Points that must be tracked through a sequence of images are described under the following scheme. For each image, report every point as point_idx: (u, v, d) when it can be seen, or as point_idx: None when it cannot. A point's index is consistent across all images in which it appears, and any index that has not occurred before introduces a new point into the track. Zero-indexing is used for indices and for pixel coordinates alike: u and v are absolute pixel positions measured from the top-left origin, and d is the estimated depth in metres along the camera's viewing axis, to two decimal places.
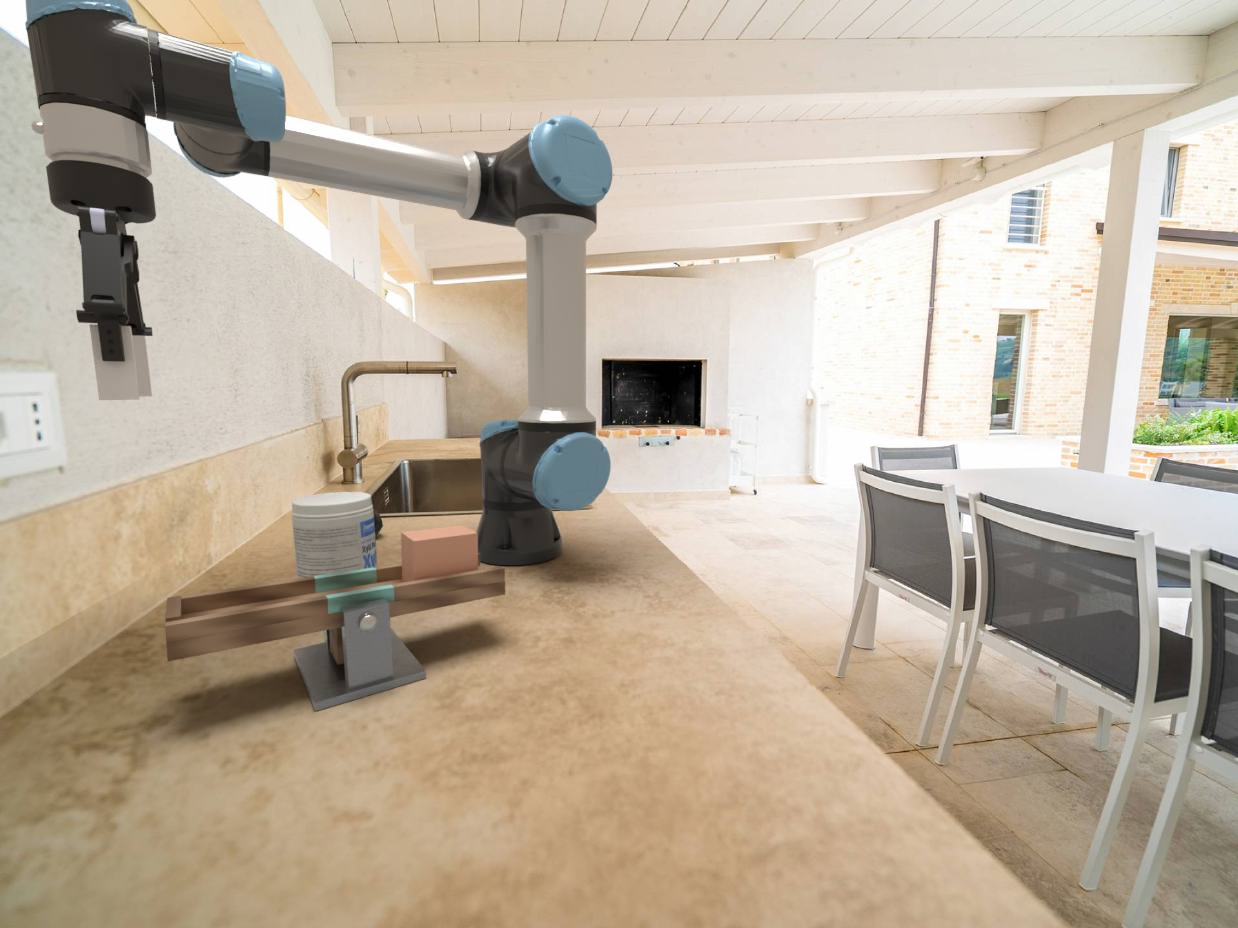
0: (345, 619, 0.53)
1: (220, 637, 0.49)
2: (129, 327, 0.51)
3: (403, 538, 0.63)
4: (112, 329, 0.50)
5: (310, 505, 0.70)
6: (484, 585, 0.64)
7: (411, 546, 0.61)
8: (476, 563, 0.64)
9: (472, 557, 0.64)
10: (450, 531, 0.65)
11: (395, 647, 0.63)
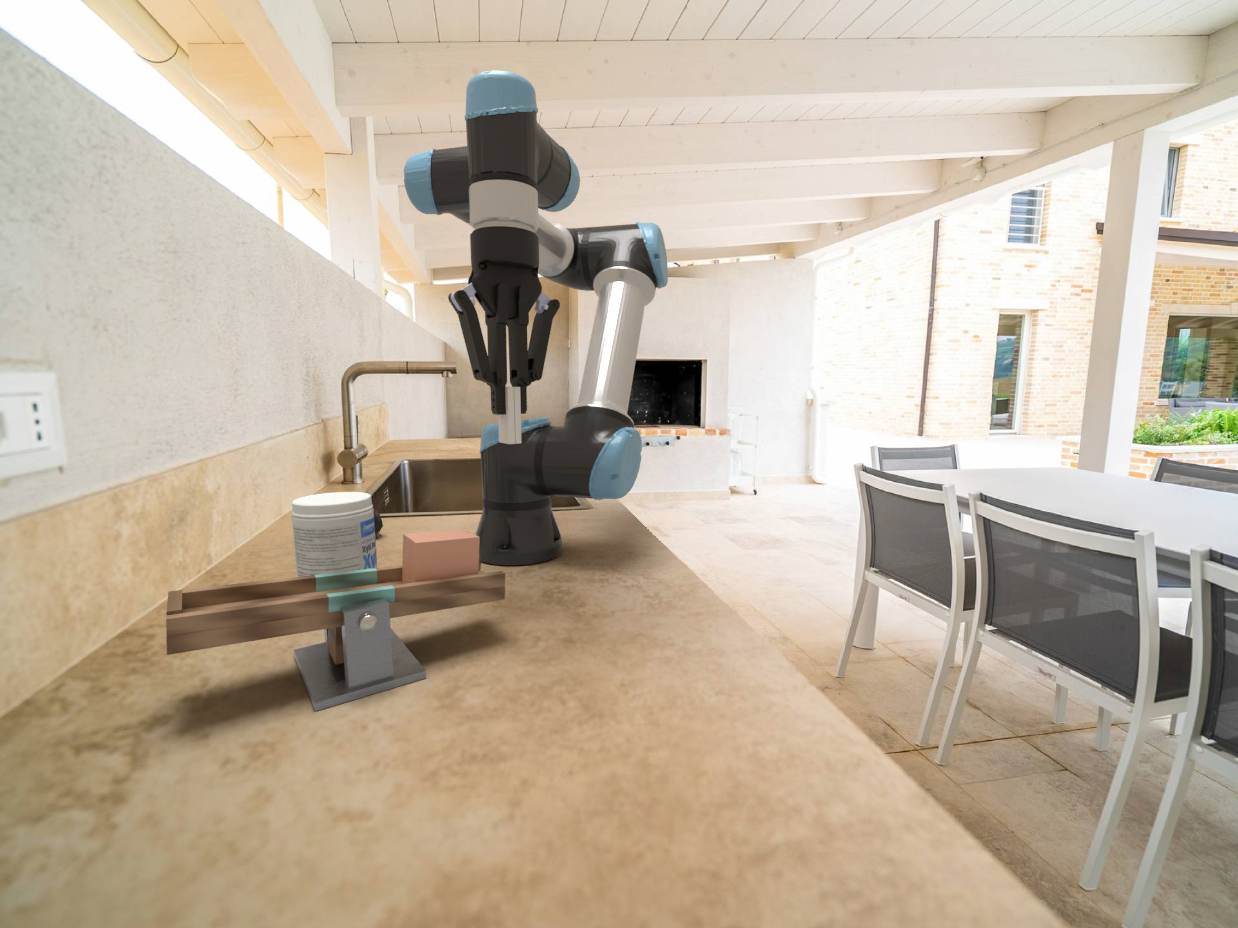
0: (345, 619, 0.53)
1: (220, 632, 0.49)
2: (507, 388, 0.65)
3: (405, 540, 0.63)
4: (494, 390, 0.66)
5: (310, 505, 0.70)
6: (484, 589, 0.64)
7: (413, 547, 0.61)
8: (477, 567, 0.65)
9: (473, 561, 0.64)
10: (452, 534, 0.65)
11: (395, 647, 0.63)
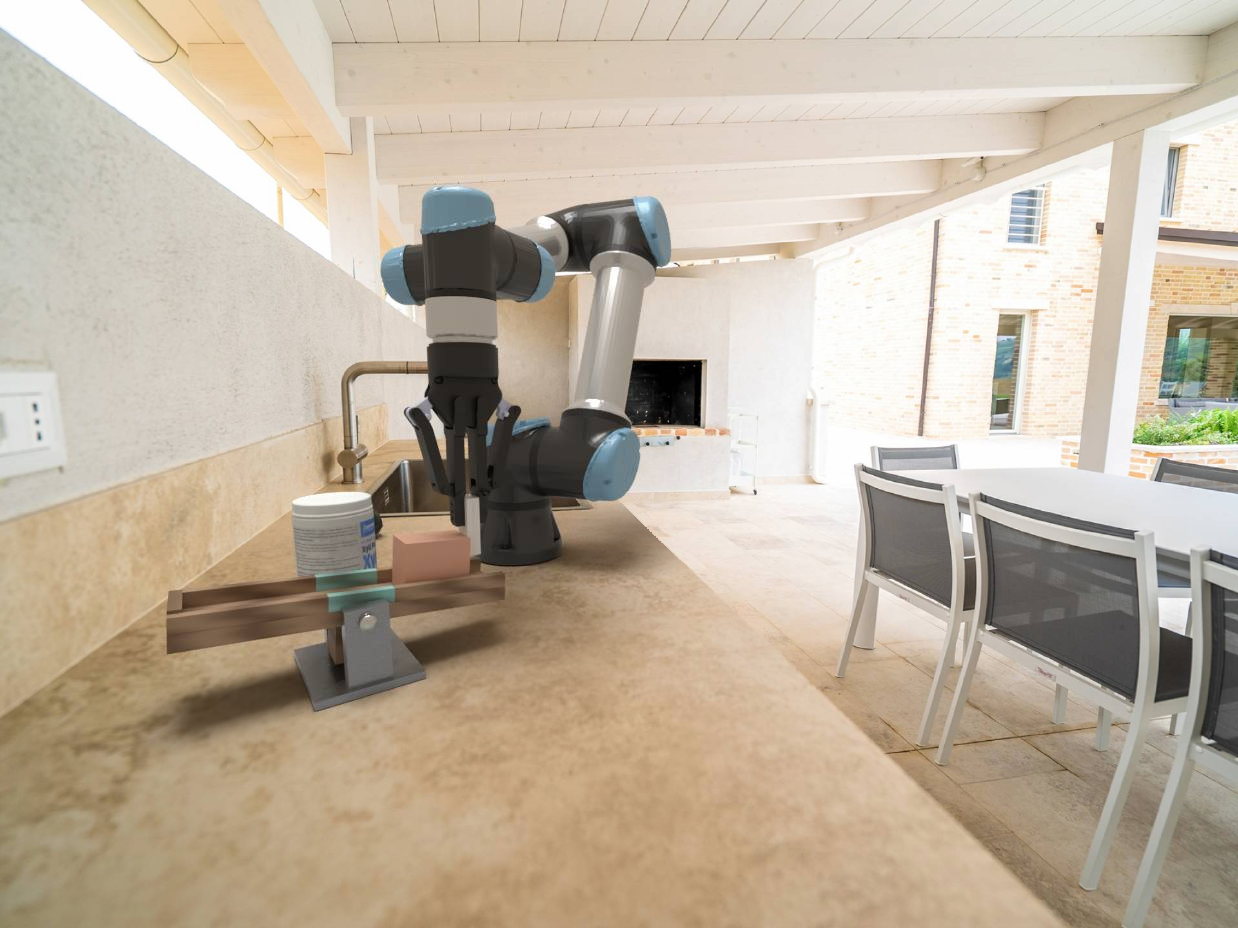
0: (345, 619, 0.53)
1: (220, 632, 0.49)
2: (466, 500, 0.64)
3: (395, 541, 0.62)
4: (452, 502, 0.64)
5: (310, 505, 0.70)
6: (484, 589, 0.64)
7: (403, 548, 0.60)
8: (468, 568, 0.64)
9: (464, 562, 0.64)
10: (443, 535, 0.64)
11: (395, 647, 0.63)
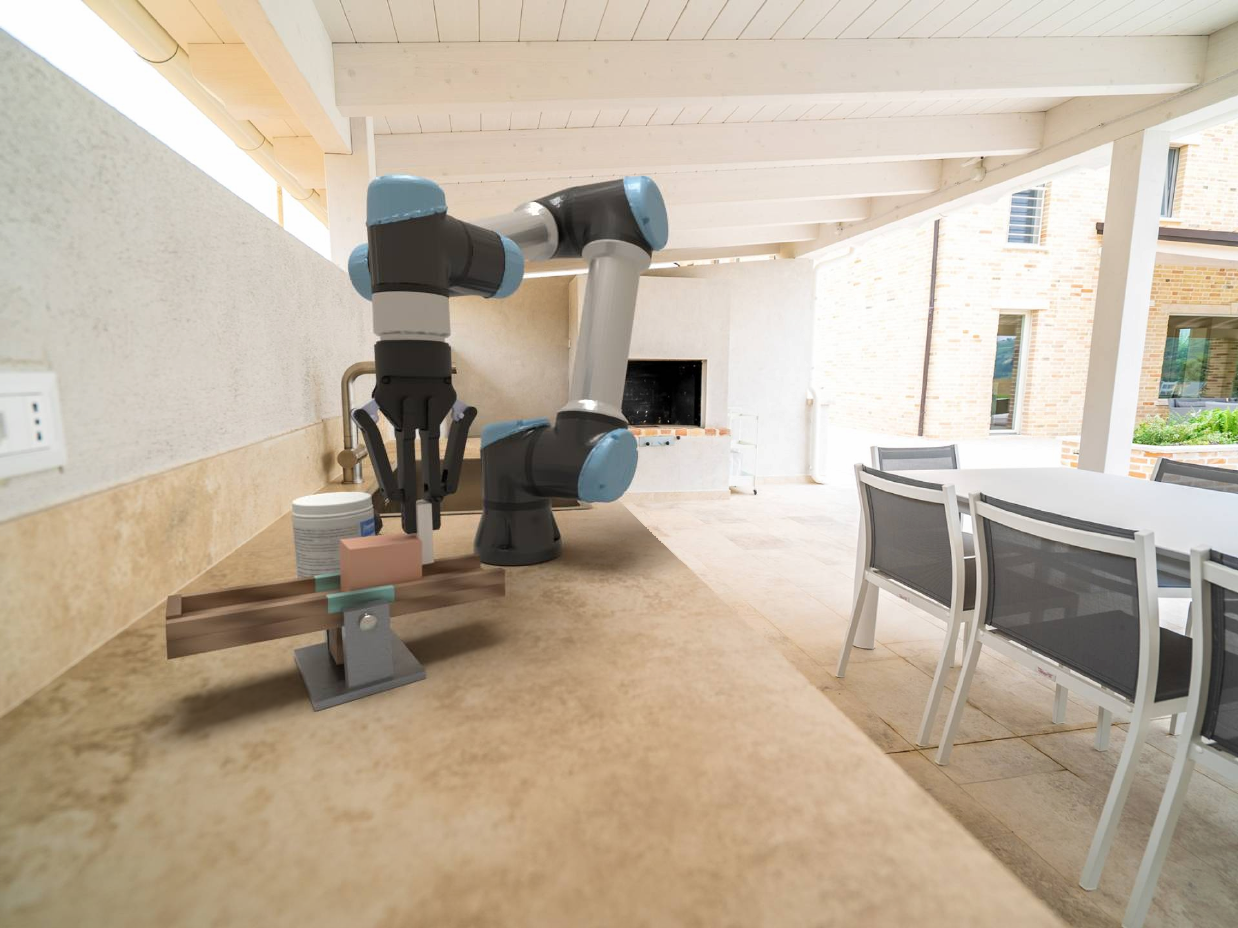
0: (345, 619, 0.53)
1: (220, 635, 0.49)
2: (417, 506, 0.61)
3: (342, 546, 0.59)
4: (403, 508, 0.61)
5: (310, 505, 0.70)
6: (484, 586, 0.64)
7: (348, 554, 0.57)
8: (420, 573, 0.61)
9: (416, 566, 0.60)
10: (393, 538, 0.61)
11: (395, 647, 0.63)
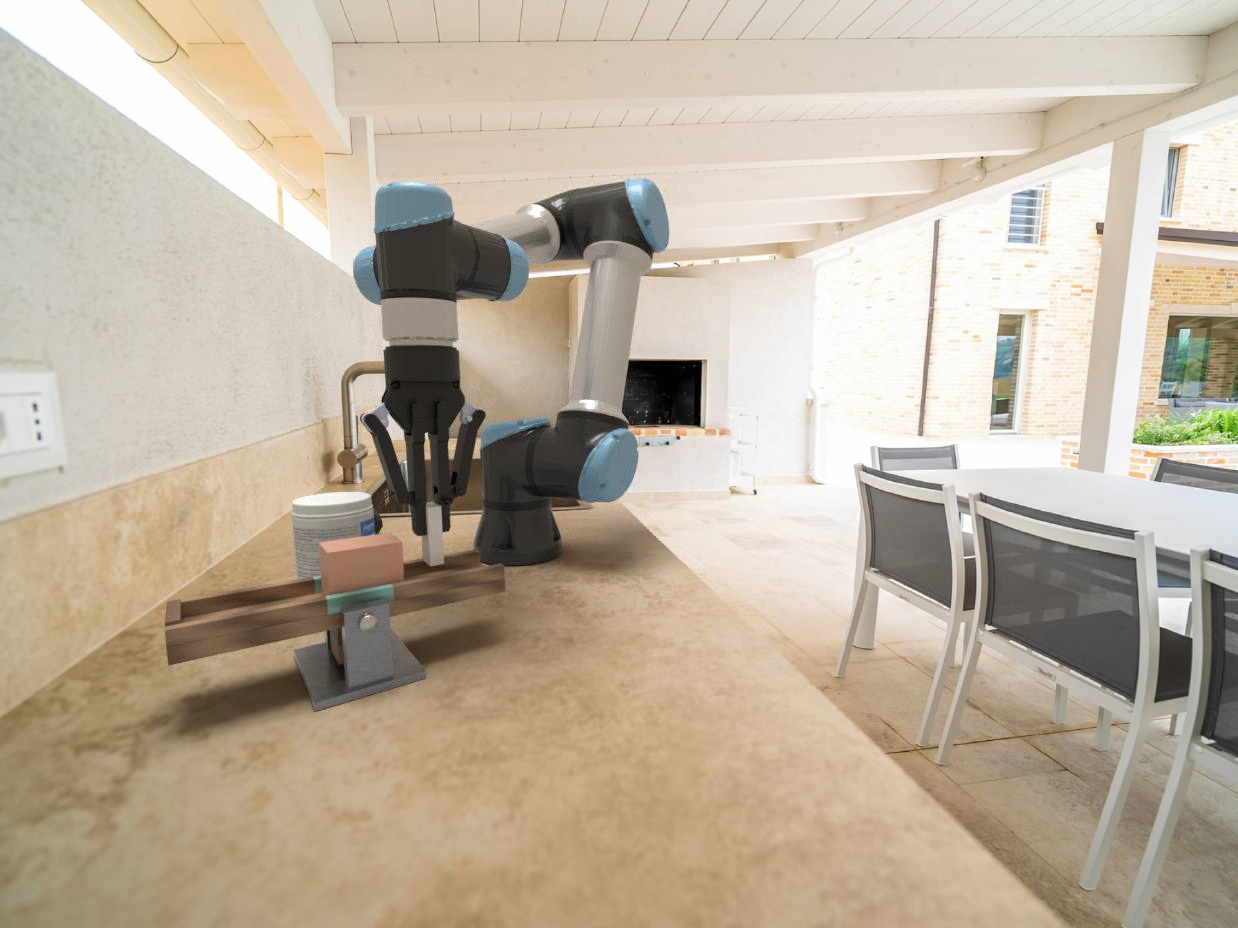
0: (345, 619, 0.53)
1: (220, 640, 0.49)
2: (427, 508, 0.62)
3: (320, 549, 0.58)
4: (413, 511, 0.62)
5: (310, 505, 0.70)
6: (484, 582, 0.64)
7: (326, 558, 0.56)
8: (402, 574, 0.60)
9: (397, 568, 0.59)
10: (373, 540, 0.60)
11: (395, 647, 0.63)
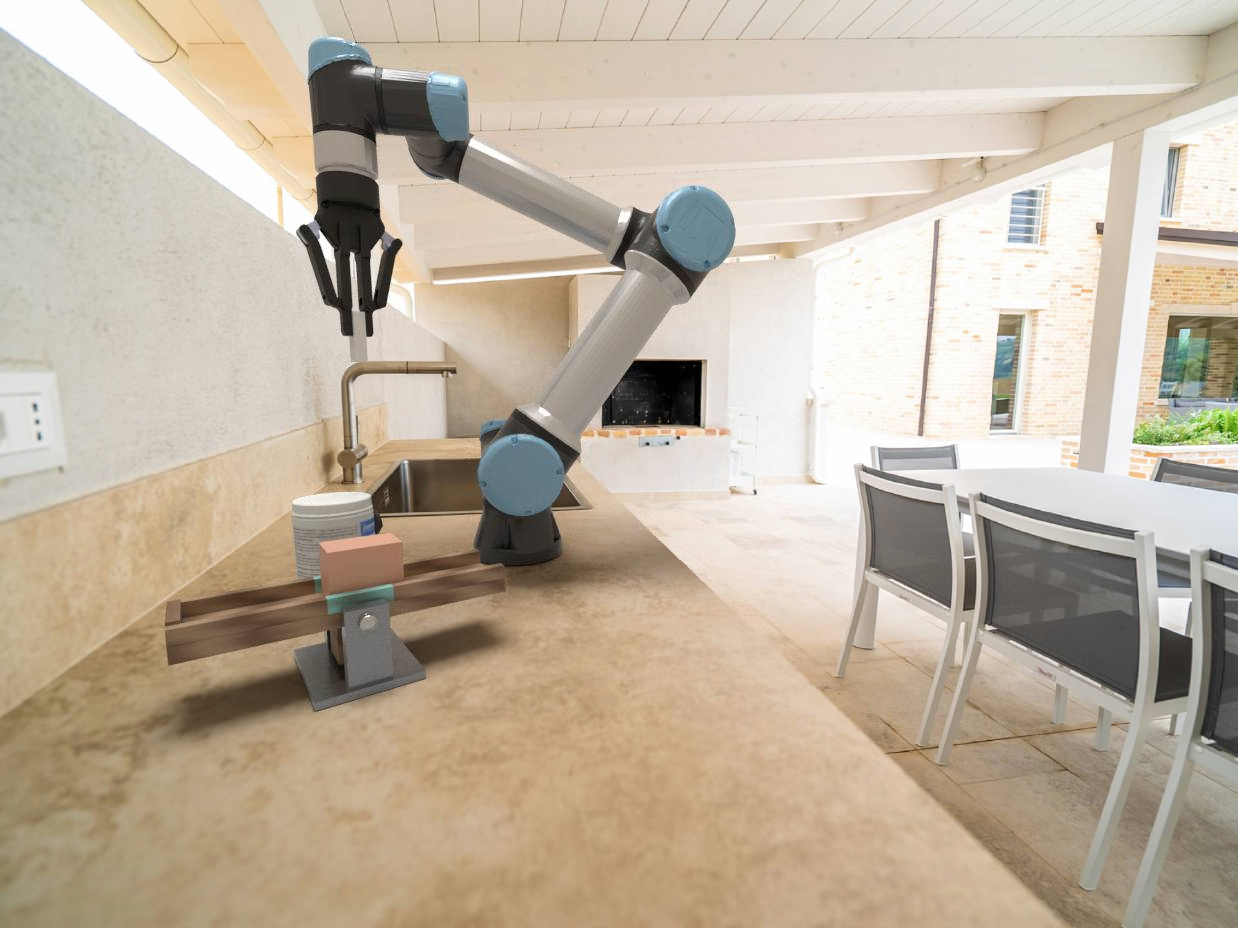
0: (345, 619, 0.53)
1: (220, 640, 0.49)
2: (353, 312, 0.76)
3: (320, 549, 0.58)
4: (341, 314, 0.77)
5: (310, 505, 0.70)
6: (484, 582, 0.64)
7: (326, 558, 0.56)
8: (402, 574, 0.60)
9: (397, 568, 0.59)
10: (373, 540, 0.60)
11: (395, 647, 0.63)
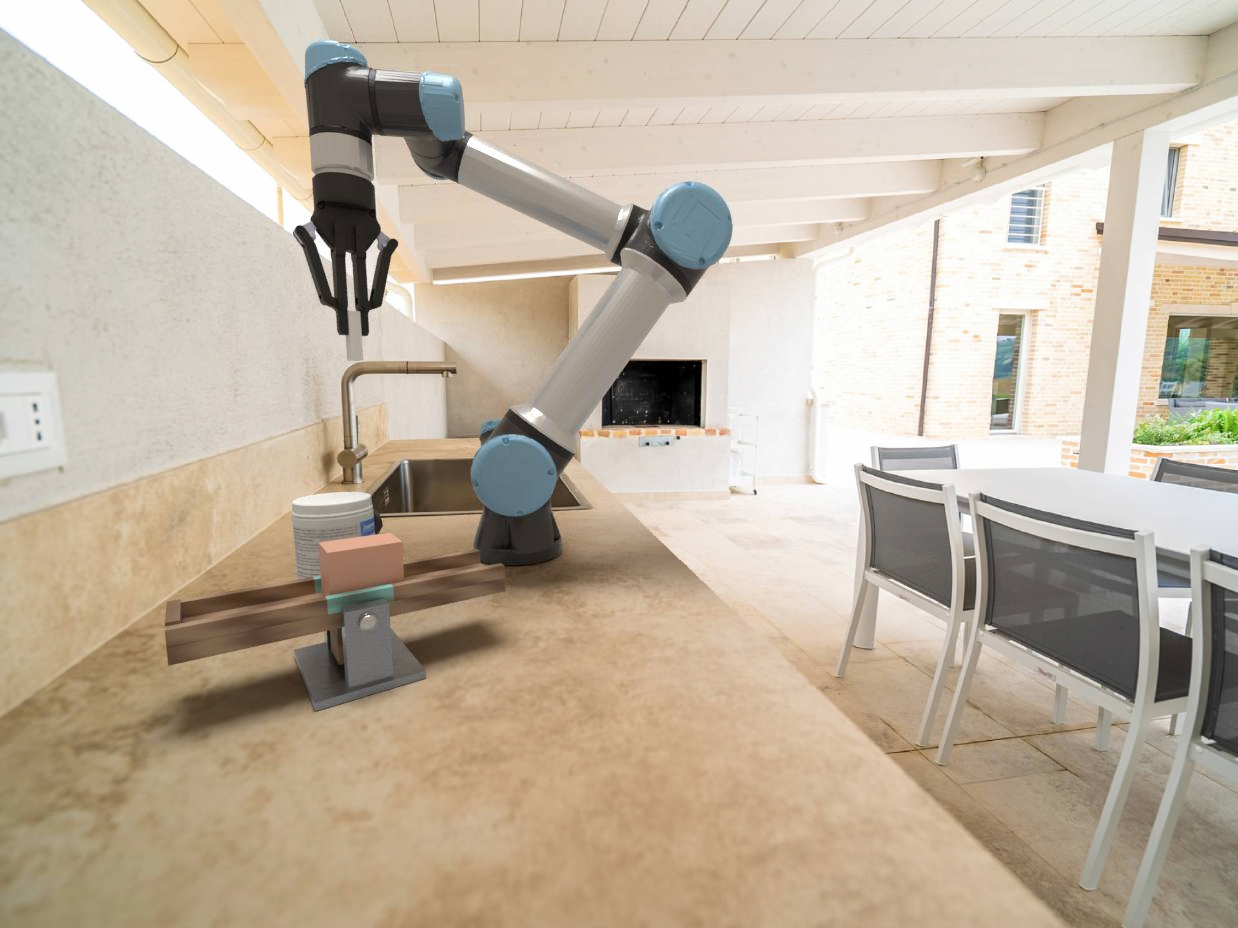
0: (345, 619, 0.53)
1: (220, 640, 0.49)
2: (348, 311, 0.77)
3: (320, 549, 0.58)
4: (337, 314, 0.78)
5: (310, 505, 0.70)
6: (484, 582, 0.64)
7: (326, 558, 0.56)
8: (402, 574, 0.60)
9: (397, 568, 0.59)
10: (373, 540, 0.60)
11: (395, 647, 0.63)
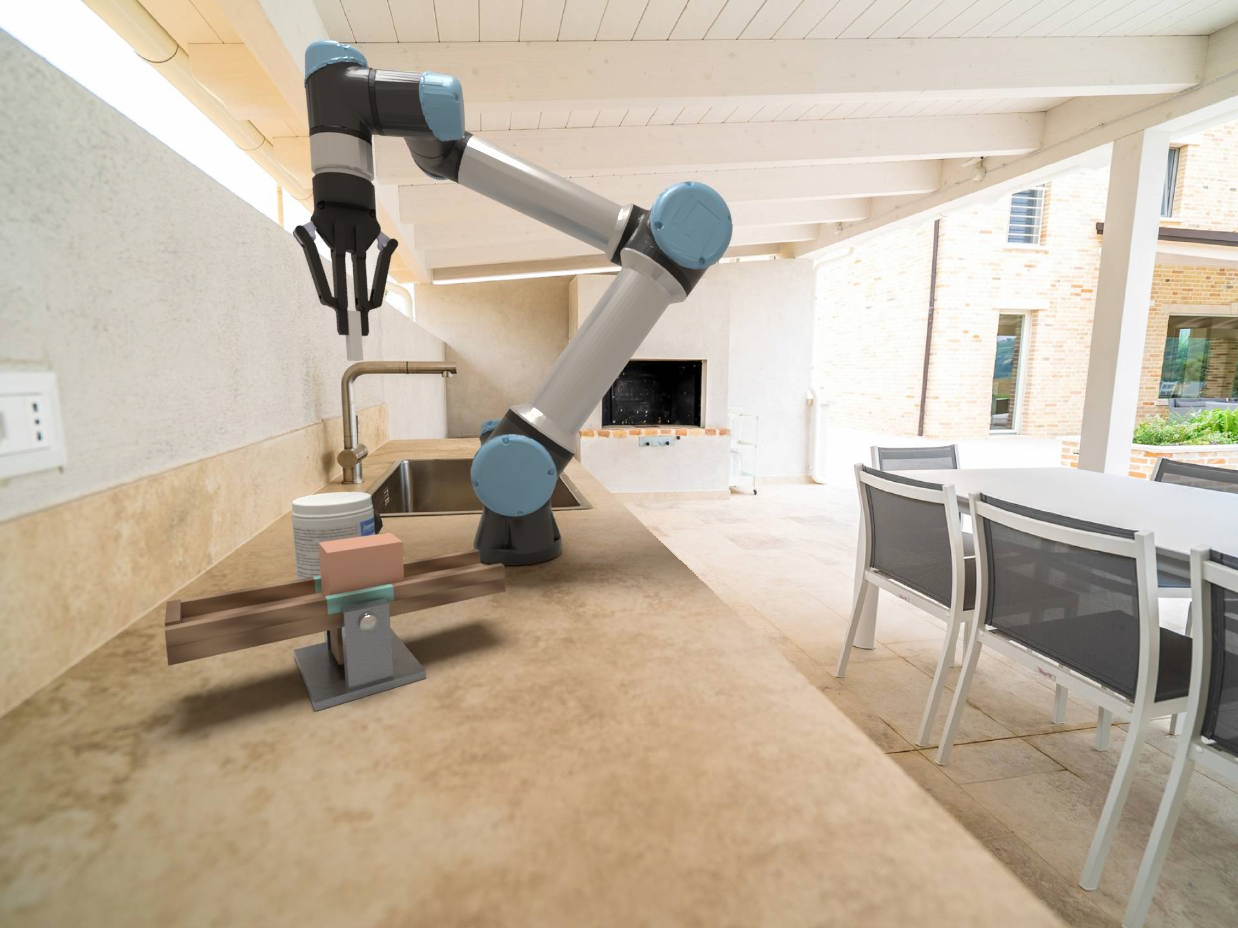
0: (345, 619, 0.53)
1: (220, 640, 0.49)
2: (348, 311, 0.77)
3: (320, 549, 0.58)
4: (337, 314, 0.78)
5: (310, 505, 0.70)
6: (484, 582, 0.64)
7: (326, 558, 0.56)
8: (402, 574, 0.60)
9: (397, 568, 0.59)
10: (373, 540, 0.60)
11: (395, 647, 0.63)
